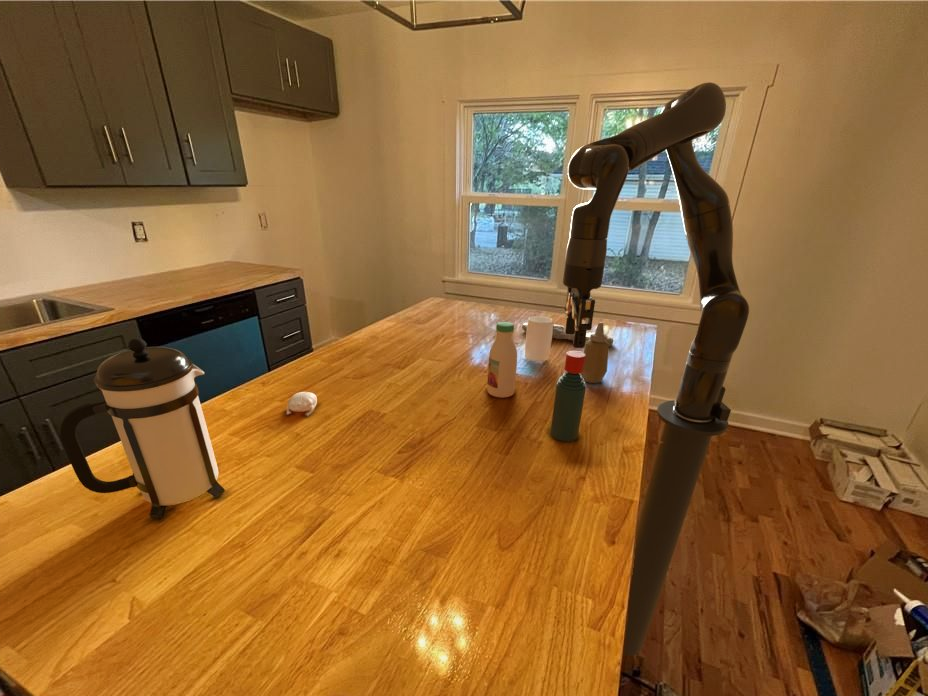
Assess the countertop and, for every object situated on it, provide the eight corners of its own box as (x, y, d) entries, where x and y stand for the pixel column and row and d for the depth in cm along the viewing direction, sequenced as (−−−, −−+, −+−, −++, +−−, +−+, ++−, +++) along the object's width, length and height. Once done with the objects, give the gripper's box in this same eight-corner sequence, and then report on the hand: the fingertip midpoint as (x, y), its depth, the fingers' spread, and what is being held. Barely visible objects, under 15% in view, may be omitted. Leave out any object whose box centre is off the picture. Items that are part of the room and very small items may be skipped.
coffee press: (175, 462, 86) (129, 320, 73) (247, 473, 84) (212, 327, 71) (94, 523, 70) (17, 356, 58) (179, 538, 68) (119, 367, 55)
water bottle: (566, 424, 104) (577, 350, 95) (583, 437, 99) (597, 360, 90) (544, 430, 101) (554, 354, 93) (561, 443, 96) (573, 365, 88)
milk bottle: (513, 386, 122) (519, 320, 114) (515, 399, 115) (521, 328, 107) (486, 385, 123) (490, 319, 114) (487, 397, 116) (490, 327, 107)
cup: (523, 354, 145) (527, 314, 139) (548, 356, 145) (552, 316, 139) (524, 364, 138) (528, 322, 132) (550, 365, 137) (555, 323, 131)
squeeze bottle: (587, 386, 124) (597, 327, 116) (572, 375, 131) (581, 319, 123) (610, 383, 126) (621, 325, 118) (594, 373, 133) (604, 317, 125)
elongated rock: (609, 353, 152) (612, 346, 161) (612, 339, 150) (616, 333, 159) (517, 332, 165) (525, 327, 173) (519, 319, 163) (527, 314, 171)
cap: (584, 368, 94) (586, 352, 92) (582, 374, 90) (584, 358, 89) (565, 365, 95) (567, 349, 93) (563, 371, 92) (565, 355, 90)
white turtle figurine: (309, 417, 104) (307, 403, 102) (282, 415, 104) (280, 402, 102) (321, 402, 111) (319, 389, 109) (296, 400, 111) (294, 387, 110)
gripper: (559, 255, 89) (550, 329, 96) (573, 267, 76) (562, 351, 83) (594, 256, 89) (584, 330, 96) (614, 269, 76) (600, 353, 83)
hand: (574, 340), depth 90 cm, fingers open, 8 cm apart
